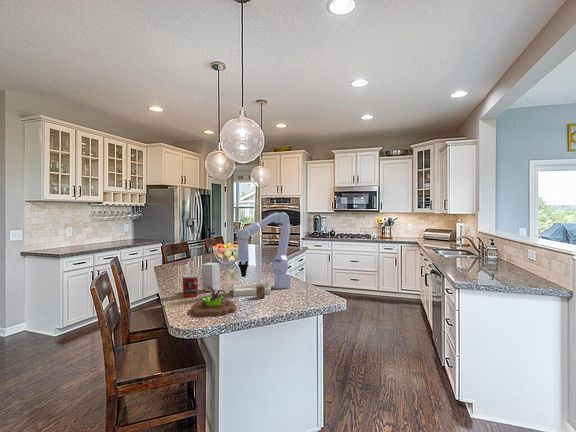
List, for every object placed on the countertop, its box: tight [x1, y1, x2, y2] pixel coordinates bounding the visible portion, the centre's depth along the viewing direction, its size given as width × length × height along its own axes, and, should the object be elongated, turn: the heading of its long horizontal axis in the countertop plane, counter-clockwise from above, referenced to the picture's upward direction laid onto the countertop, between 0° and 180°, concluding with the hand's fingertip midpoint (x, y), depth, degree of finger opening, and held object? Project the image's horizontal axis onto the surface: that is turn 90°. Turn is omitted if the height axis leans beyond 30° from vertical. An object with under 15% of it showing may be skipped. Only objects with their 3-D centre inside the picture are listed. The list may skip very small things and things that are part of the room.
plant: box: [190, 287, 237, 318], centre depth 143 cm, size 20×20×11 cm
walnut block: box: [255, 285, 266, 300], centre depth 163 cm, size 4×4×6 cm
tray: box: [232, 282, 272, 297], centre depth 175 cm, size 20×14×3 cm
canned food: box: [182, 273, 199, 299], centre depth 169 cm, size 8×8×11 cm
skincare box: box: [201, 262, 221, 293], centre depth 180 cm, size 8×7×16 cm
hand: (243, 275), depth 173 cm, fingers open, 7 cm apart
